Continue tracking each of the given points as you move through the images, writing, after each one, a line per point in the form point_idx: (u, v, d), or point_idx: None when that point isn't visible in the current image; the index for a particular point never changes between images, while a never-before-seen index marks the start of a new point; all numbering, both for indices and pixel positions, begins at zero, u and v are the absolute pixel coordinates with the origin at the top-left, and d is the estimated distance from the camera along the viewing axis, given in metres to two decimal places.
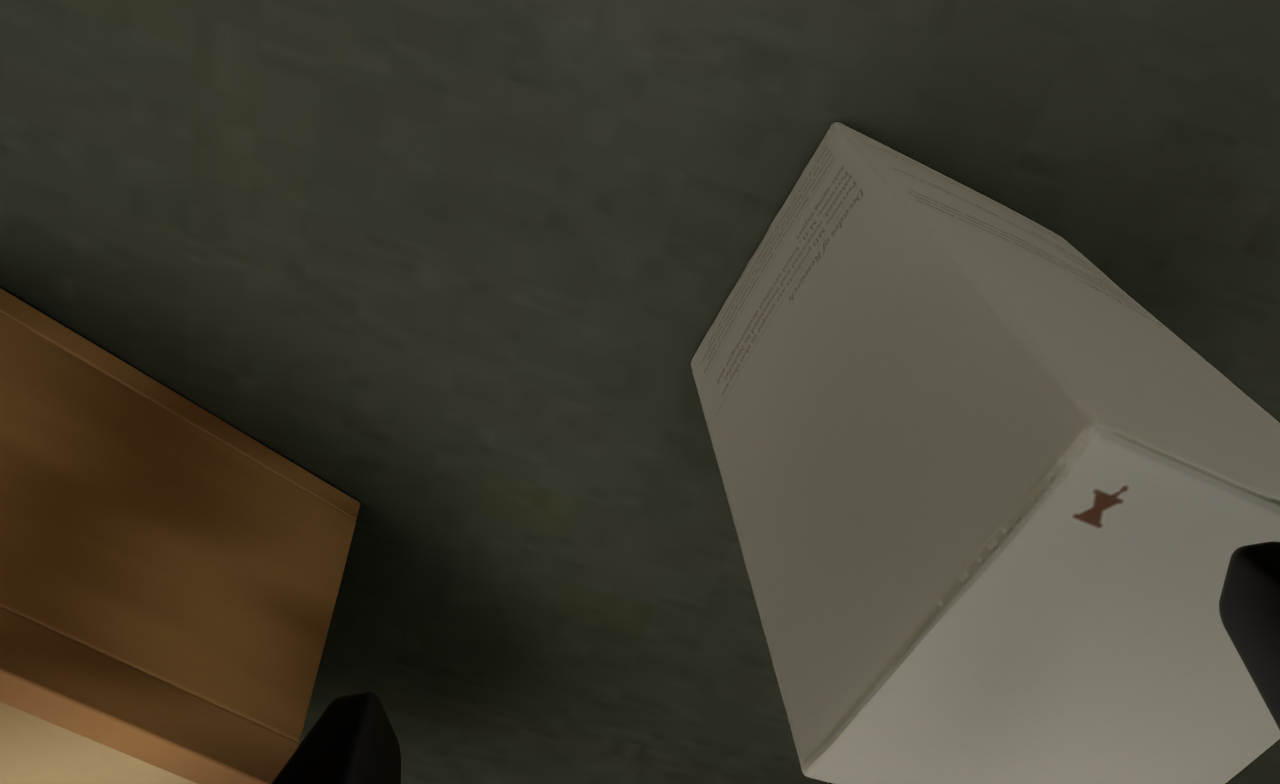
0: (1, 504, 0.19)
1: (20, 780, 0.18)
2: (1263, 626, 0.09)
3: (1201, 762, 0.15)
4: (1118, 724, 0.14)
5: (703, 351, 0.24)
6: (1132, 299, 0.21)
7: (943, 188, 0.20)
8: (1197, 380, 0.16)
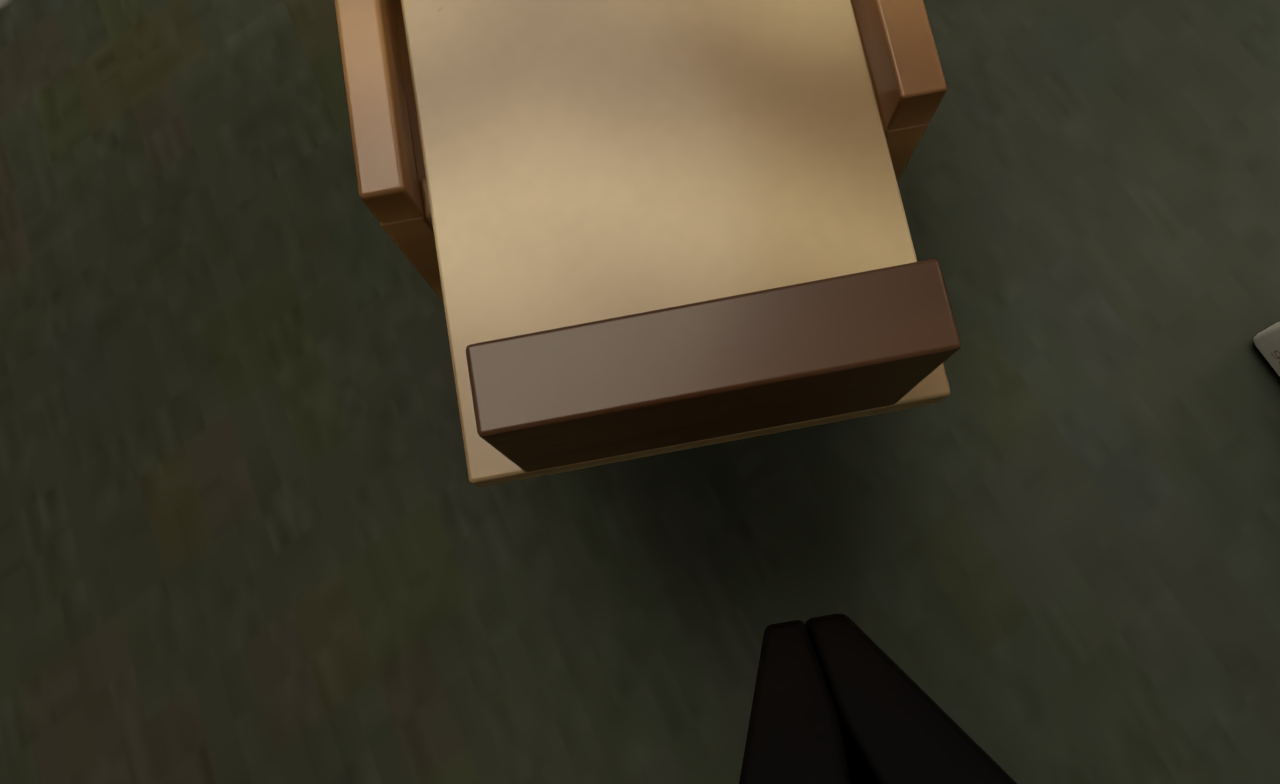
0: None
1: None
2: None
3: None
4: None
5: None
6: None
7: None
8: None
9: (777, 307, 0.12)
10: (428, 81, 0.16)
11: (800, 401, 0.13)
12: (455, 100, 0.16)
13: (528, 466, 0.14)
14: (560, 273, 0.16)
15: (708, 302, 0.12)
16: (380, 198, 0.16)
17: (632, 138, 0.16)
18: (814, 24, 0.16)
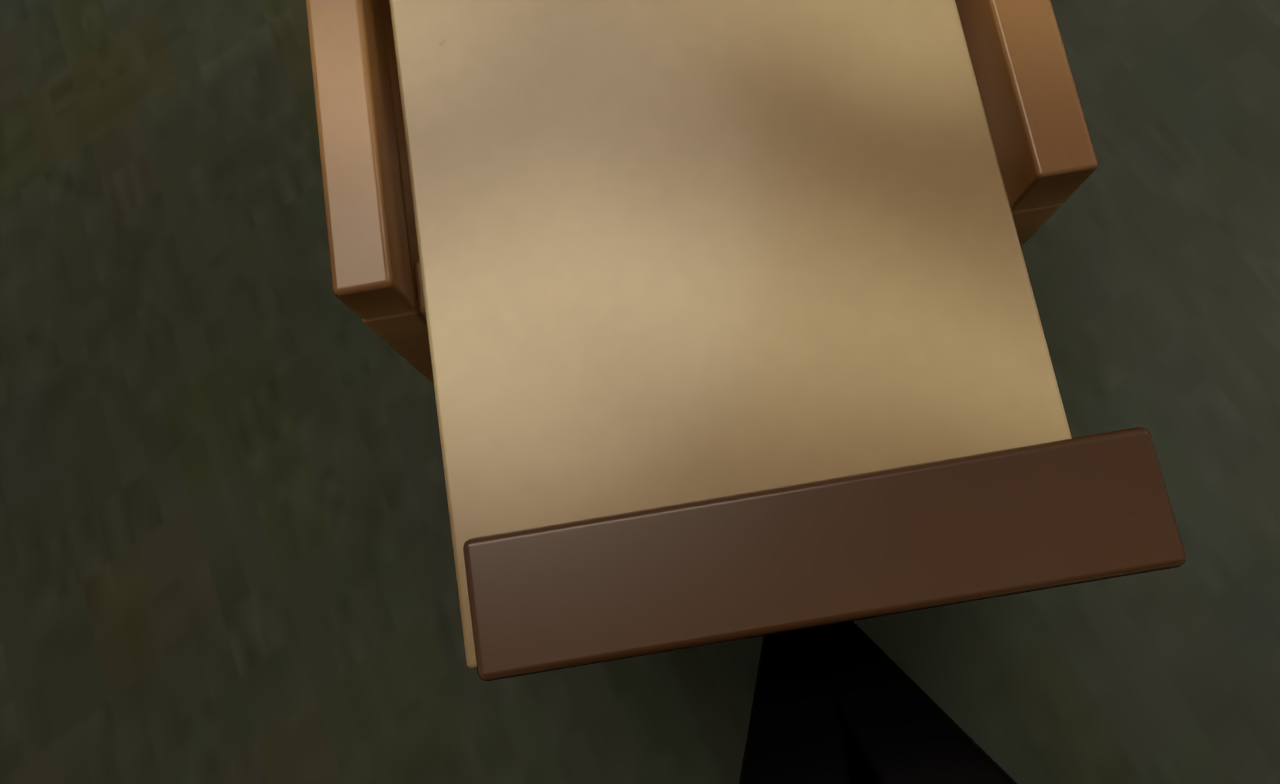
0: None
1: None
2: None
3: None
4: None
5: None
6: None
7: None
8: None
9: (916, 496, 0.08)
10: (425, 134, 0.13)
11: None
12: (458, 159, 0.13)
13: None
14: (590, 388, 0.12)
15: (815, 486, 0.08)
16: (361, 294, 0.12)
17: (685, 212, 0.13)
18: (919, 69, 0.13)
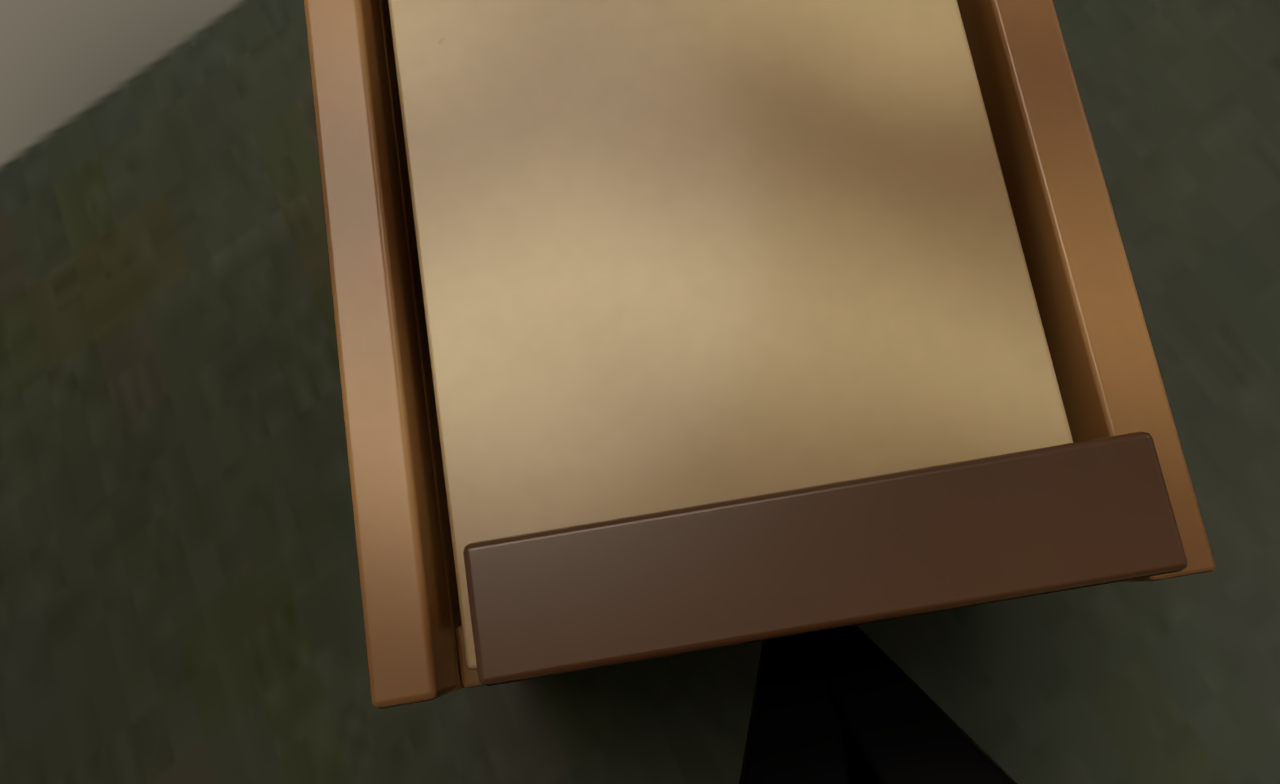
0: None
1: None
2: None
3: None
4: None
5: None
6: None
7: None
8: None
9: (917, 500, 0.08)
10: (424, 133, 0.13)
11: None
12: (457, 158, 0.13)
13: None
14: (590, 389, 0.12)
15: (816, 491, 0.08)
16: (402, 702, 0.11)
17: (685, 212, 0.12)
18: (920, 68, 0.13)
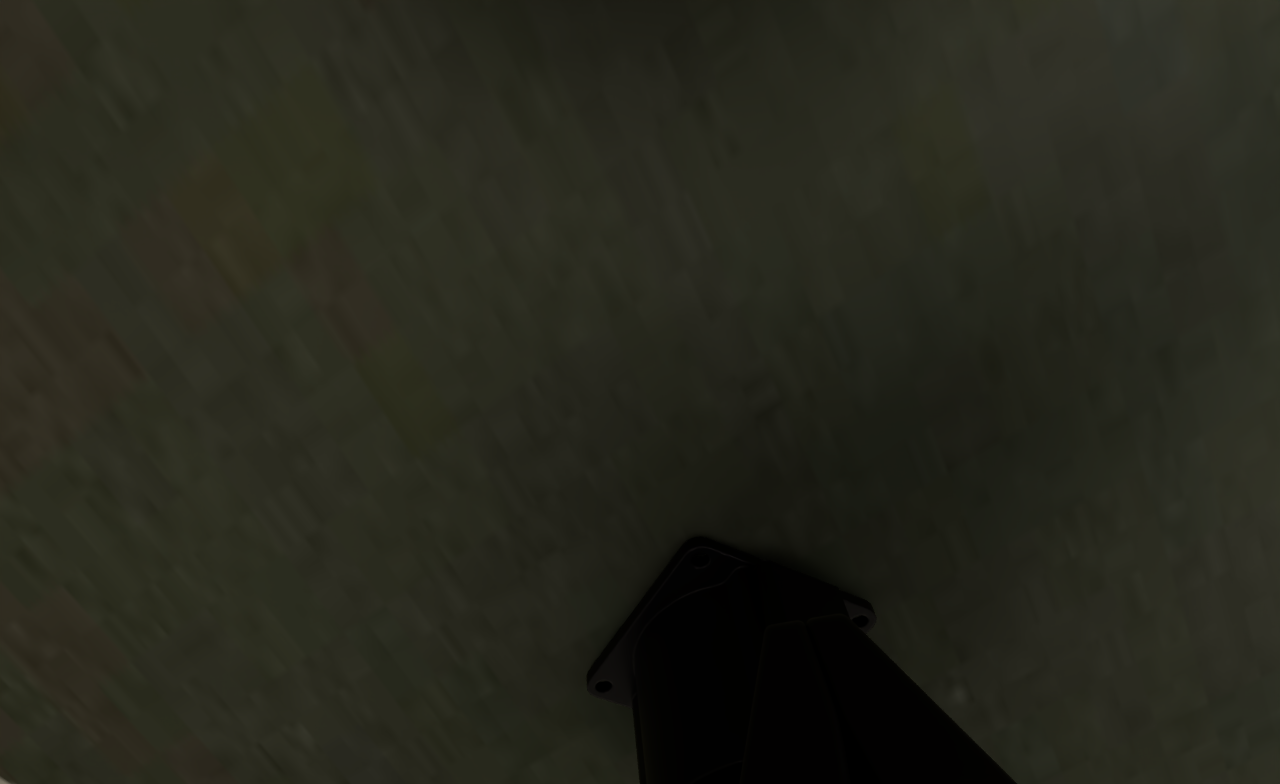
0: None
1: None
2: None
3: None
4: None
5: None
6: None
7: None
8: None
9: None
10: None
11: None
12: None
13: None
14: None
15: None
16: None
17: None
18: None
